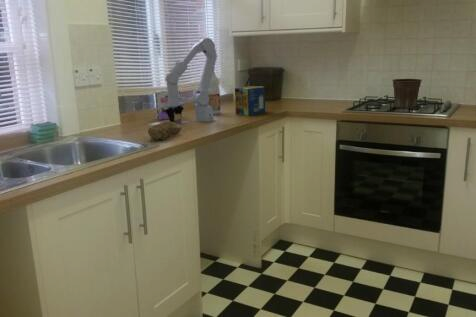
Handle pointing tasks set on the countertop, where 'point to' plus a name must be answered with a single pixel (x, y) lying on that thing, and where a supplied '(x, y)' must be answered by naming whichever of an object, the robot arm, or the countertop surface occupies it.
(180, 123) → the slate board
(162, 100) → the candy box
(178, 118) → the oak block
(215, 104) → the fruit juice
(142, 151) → the countertop surface
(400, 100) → the plant pot
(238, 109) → the protein box
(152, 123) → the cream pad
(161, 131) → the brown rounded lump
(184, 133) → the countertop surface
